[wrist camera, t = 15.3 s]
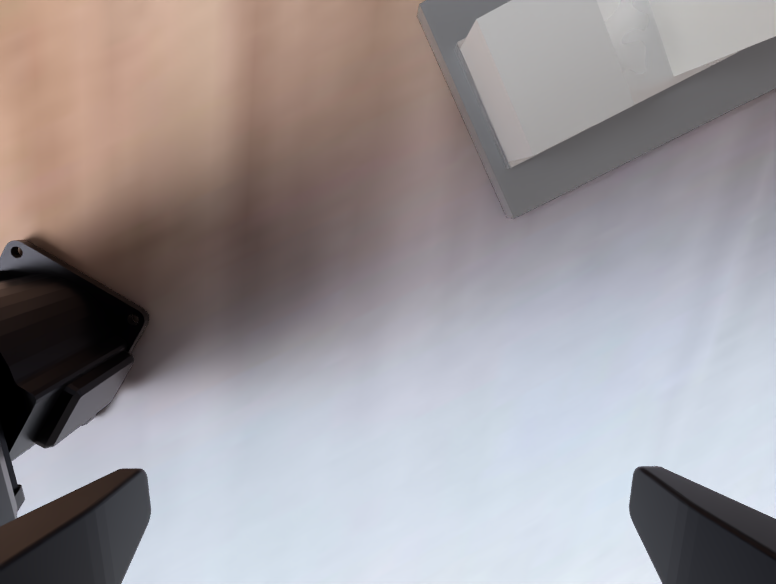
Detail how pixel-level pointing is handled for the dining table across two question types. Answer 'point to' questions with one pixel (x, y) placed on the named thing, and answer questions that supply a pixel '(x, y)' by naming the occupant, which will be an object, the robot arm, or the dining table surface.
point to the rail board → (601, 137)
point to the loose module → (710, 28)
